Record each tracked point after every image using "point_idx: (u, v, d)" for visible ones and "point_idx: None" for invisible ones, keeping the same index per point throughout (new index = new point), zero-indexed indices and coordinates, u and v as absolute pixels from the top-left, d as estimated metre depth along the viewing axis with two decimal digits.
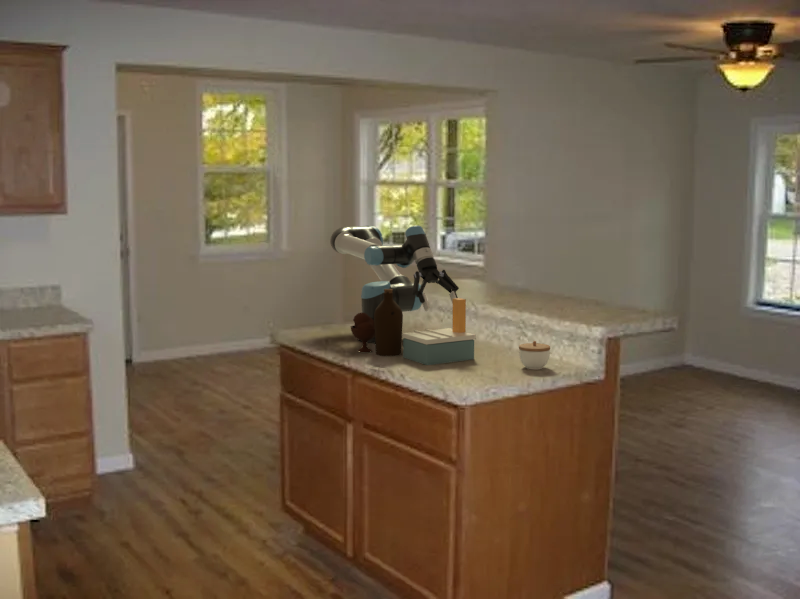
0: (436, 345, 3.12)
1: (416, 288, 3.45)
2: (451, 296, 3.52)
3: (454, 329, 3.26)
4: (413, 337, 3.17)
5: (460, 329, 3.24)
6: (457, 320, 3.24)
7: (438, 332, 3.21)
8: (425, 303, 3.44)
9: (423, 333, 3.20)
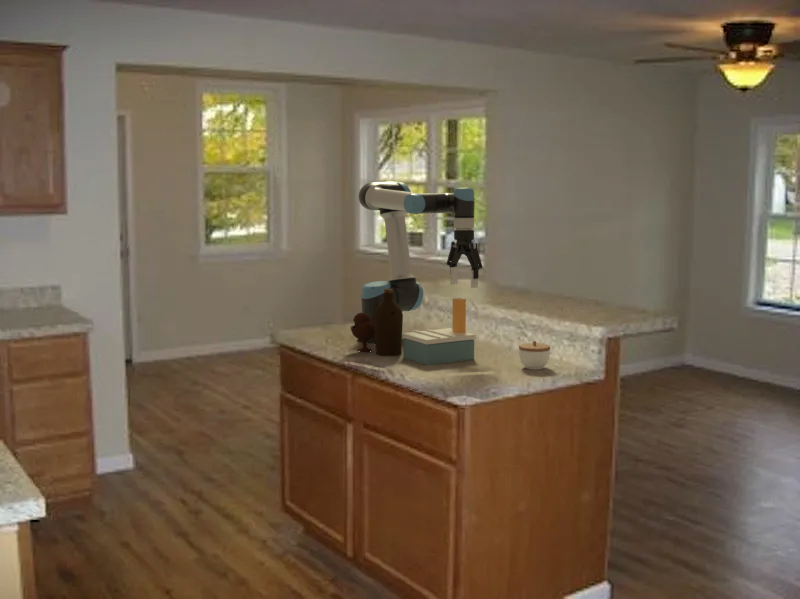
0: (436, 345, 3.12)
1: None
2: (453, 271, 3.42)
3: (454, 329, 3.26)
4: (413, 337, 3.17)
5: (460, 329, 3.24)
6: (457, 320, 3.24)
7: (438, 332, 3.21)
8: (476, 281, 3.31)
9: (423, 333, 3.20)
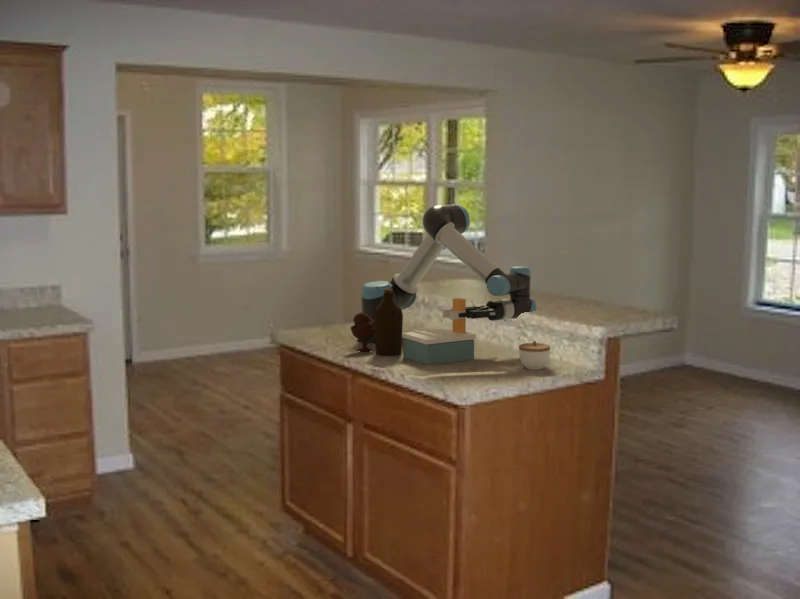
0: (436, 345, 3.12)
1: None
2: None
3: (454, 329, 3.26)
4: (413, 337, 3.17)
5: (460, 329, 3.24)
6: (457, 320, 3.24)
7: (438, 332, 3.21)
8: (456, 317, 3.22)
9: (423, 333, 3.20)
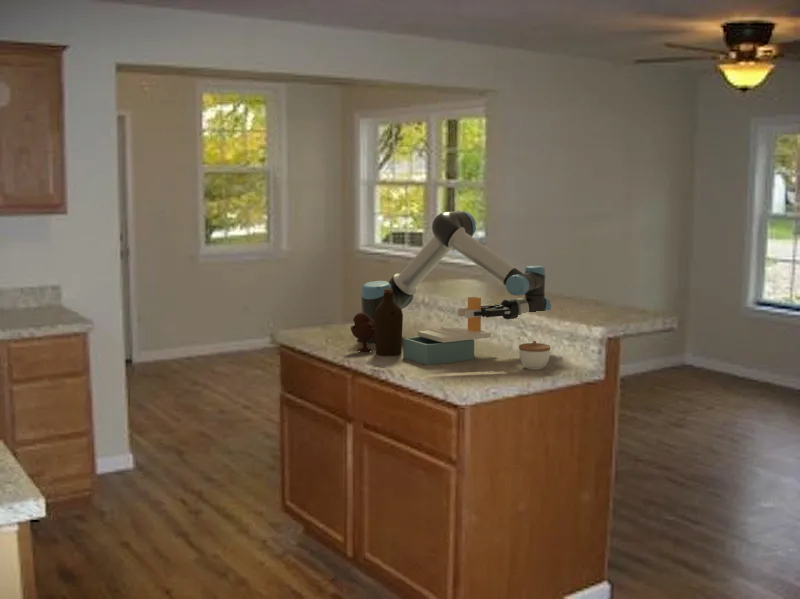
0: (436, 345, 3.12)
1: (490, 316, 3.26)
2: None
3: (469, 327, 3.29)
4: (429, 335, 3.20)
5: (476, 328, 3.27)
6: (472, 319, 3.27)
7: (454, 330, 3.24)
8: (471, 315, 3.25)
9: (439, 331, 3.24)
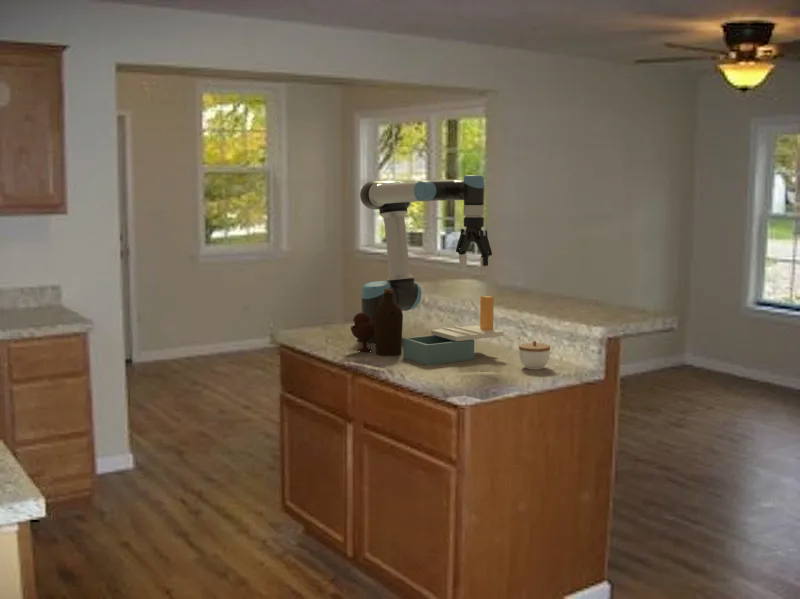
0: (436, 345, 3.12)
1: None
2: (463, 258, 3.43)
3: (482, 326, 3.32)
4: (442, 334, 3.23)
5: (488, 326, 3.30)
6: (485, 317, 3.30)
7: (467, 329, 3.27)
8: (485, 268, 3.33)
9: (452, 330, 3.27)
